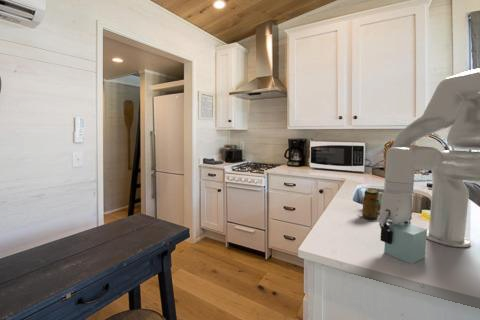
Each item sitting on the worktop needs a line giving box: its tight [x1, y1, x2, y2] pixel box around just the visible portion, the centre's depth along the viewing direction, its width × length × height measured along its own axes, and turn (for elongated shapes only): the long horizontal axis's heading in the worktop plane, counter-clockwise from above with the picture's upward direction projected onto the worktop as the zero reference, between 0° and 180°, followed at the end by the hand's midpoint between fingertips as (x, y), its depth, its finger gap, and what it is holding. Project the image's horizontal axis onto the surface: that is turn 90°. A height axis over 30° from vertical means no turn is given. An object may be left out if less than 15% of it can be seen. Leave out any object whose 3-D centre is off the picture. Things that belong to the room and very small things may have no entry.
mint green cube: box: [383, 222, 427, 265], centre depth 72 cm, size 8×8×9 cm
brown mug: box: [357, 189, 380, 222], centre depth 104 cm, size 7×8×12 cm
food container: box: [367, 188, 385, 215], centre depth 113 cm, size 12×6×10 cm, turn 168°
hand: (394, 238), depth 75 cm, fingers open, 9 cm apart
